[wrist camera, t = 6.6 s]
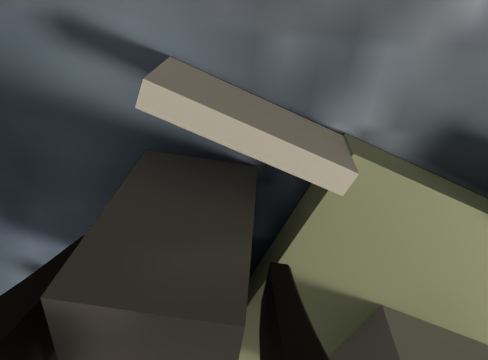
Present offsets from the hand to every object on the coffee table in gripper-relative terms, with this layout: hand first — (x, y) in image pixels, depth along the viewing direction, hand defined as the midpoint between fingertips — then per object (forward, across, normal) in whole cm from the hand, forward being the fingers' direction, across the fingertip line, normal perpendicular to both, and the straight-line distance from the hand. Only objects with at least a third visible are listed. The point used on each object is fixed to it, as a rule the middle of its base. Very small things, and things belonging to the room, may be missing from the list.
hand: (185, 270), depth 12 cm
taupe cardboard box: (+2, 0, 0) cm, 2 cm away
